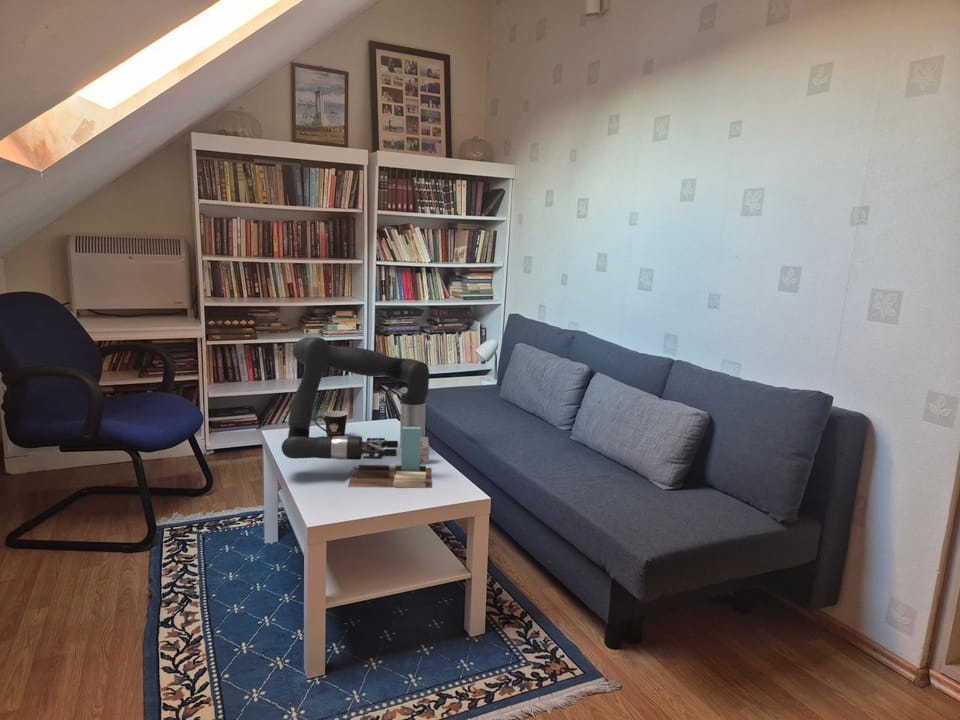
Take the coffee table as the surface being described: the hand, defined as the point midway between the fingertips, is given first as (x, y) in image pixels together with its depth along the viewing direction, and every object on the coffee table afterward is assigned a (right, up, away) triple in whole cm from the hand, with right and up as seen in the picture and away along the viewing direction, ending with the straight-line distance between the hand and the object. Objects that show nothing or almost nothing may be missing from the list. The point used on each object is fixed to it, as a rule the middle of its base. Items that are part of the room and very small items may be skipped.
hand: (397, 448), depth 205 cm
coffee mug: (-30, -2, +40) cm, 51 cm away
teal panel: (+4, -9, +2) cm, 10 cm away
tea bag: (+5, -8, +14) cm, 17 cm away
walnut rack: (-2, -10, 0) cm, 10 cm away
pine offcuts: (+5, -10, -6) cm, 13 cm away
